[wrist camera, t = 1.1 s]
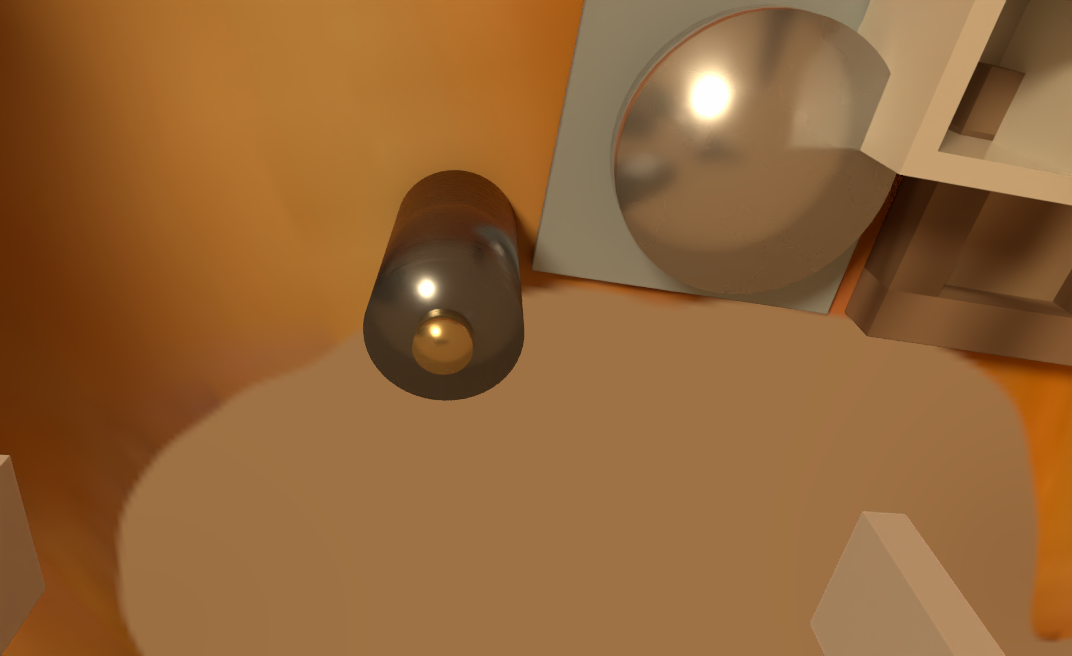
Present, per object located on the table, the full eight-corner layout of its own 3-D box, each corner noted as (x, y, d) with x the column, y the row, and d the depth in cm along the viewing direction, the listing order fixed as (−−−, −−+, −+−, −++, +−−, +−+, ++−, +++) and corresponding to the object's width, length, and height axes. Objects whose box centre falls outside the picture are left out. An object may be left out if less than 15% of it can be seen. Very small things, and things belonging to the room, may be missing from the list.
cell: (391, 272, 28) (353, 406, 20) (403, 161, 26) (364, 262, 18) (505, 289, 28) (510, 425, 21) (525, 181, 26) (539, 287, 18)
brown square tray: (844, 311, 29) (867, 336, 28) (956, 56, 25) (992, 66, 23) (1061, 344, 31) (1095, 369, 29) (1207, 108, 26) (1258, 121, 24)
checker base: (531, 264, 28) (532, 270, 27) (602, -91, 22) (604, -91, 22) (822, 308, 29) (826, 314, 29) (957, -13, 24) (965, -12, 23)
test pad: (583, 255, 25) (588, 273, 24) (648, -24, 21) (659, -20, 20) (820, 291, 27) (837, 311, 25) (927, 35, 22) (954, 41, 21)
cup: (816, 123, 26) (899, 174, 20) (885, -66, 23) (1002, -64, 18) (968, 152, 26) (1085, 208, 21) (1054, -28, 24) (1213, -15, 18)
